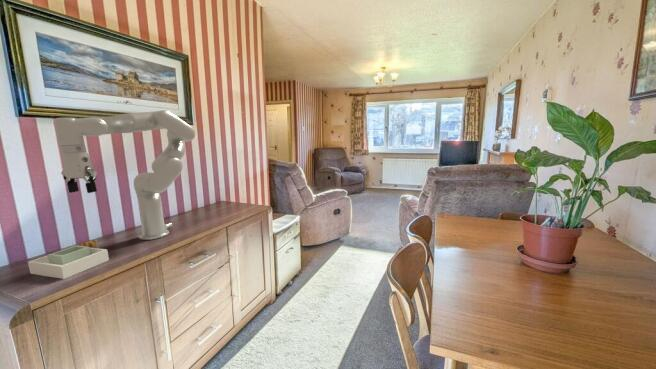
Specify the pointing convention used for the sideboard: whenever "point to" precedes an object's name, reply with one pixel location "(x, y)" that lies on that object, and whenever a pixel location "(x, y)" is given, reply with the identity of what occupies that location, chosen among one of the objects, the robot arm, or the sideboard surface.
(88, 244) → the pastry
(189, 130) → the robot arm
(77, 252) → the small crate
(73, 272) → the big crate
